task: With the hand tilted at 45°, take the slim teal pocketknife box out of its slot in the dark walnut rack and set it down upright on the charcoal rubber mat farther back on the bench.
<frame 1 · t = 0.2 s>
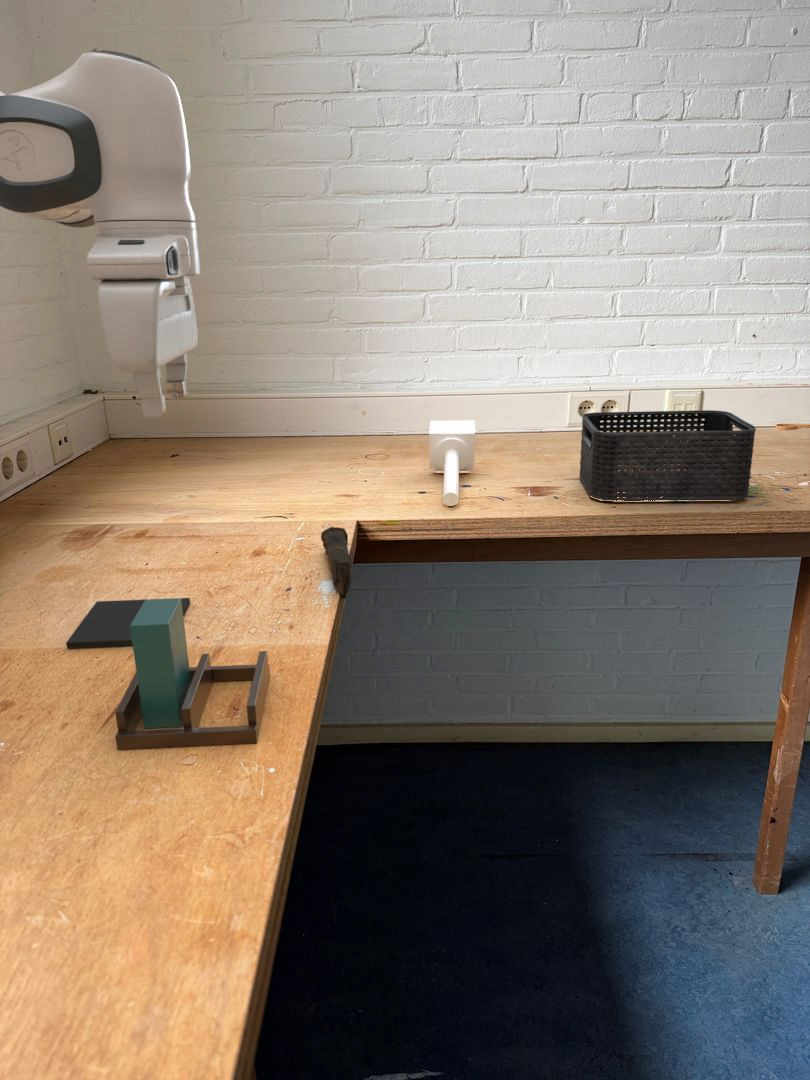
hand: (166, 406, 78), 29 cm above the table, tool pointing down, fingers open, 8 cm apart
slot rack: (199, 710, 80), on the table
hand tool: (343, 573, 115), on the table
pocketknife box: (169, 711, 80), resting in slot rack
storage bin: (658, 490, 153), on the table
rubber mat: (132, 624, 99), on the table
paper towel holder: (451, 485, 158), on the table
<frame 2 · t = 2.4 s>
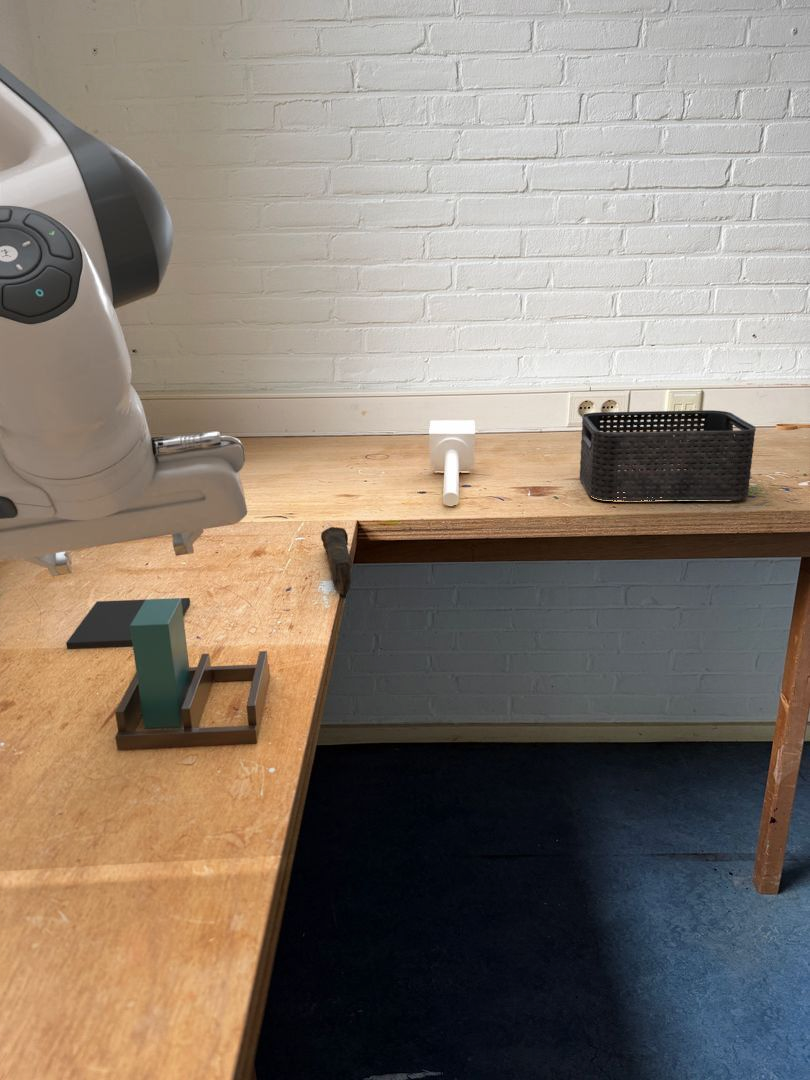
hand: (124, 557, 64), 20 cm above the table, tool tilted 40°, fingers open, 8 cm apart
nothing on the table moved.
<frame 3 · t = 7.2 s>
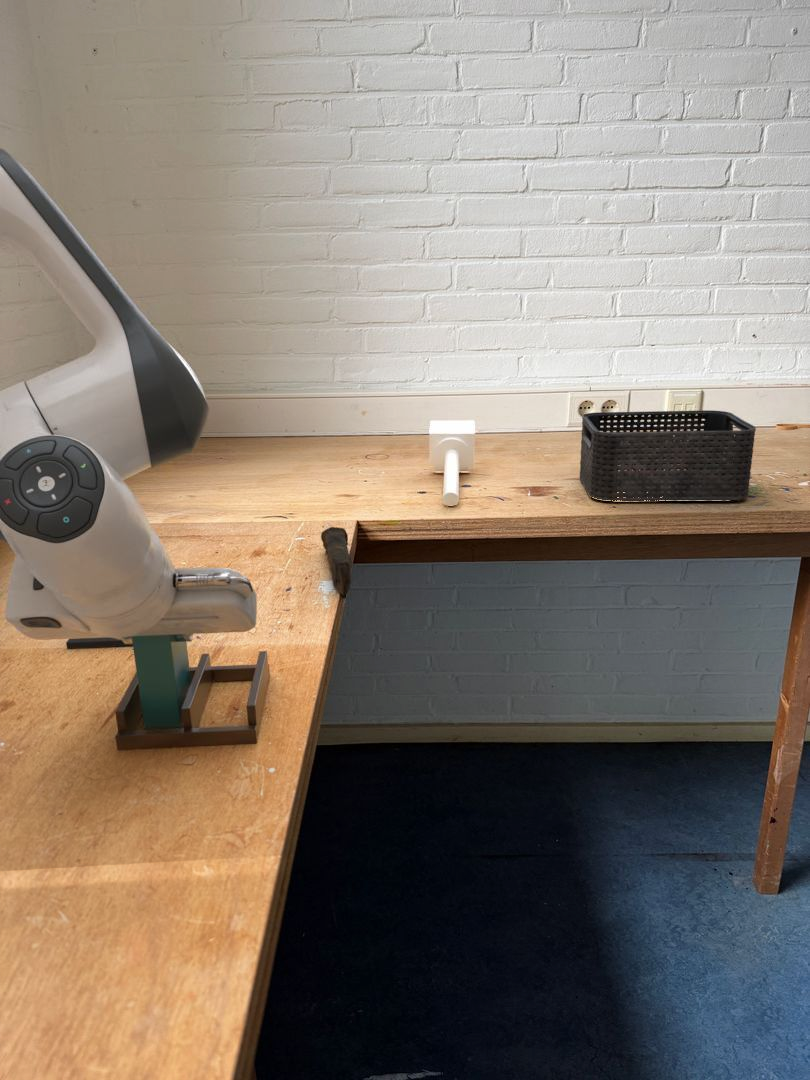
hand: (159, 635, 77), 8 cm above the table, tool tilted 45°, fingers closed on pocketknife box, 3 cm apart
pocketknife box: (169, 711, 80), resting in slot rack, touching gripper
everything else where it was.
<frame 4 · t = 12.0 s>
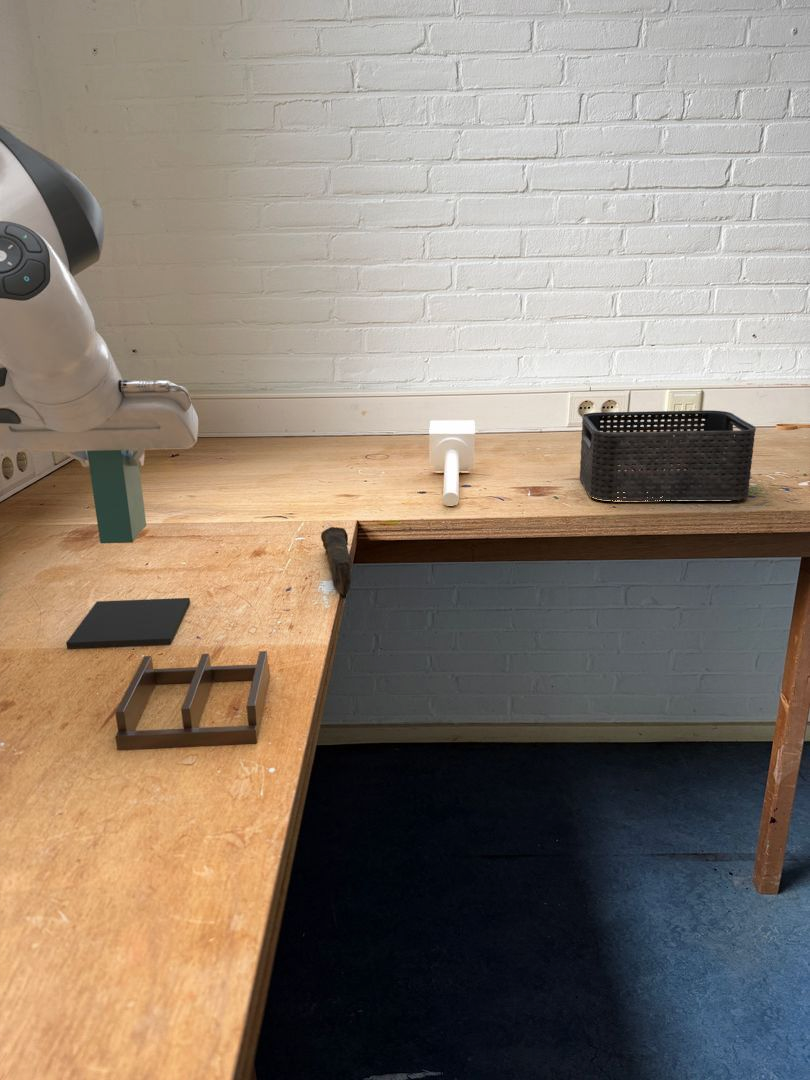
hand: (114, 461, 87), 22 cm above the table, tool tilted 45°, fingers closed on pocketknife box, 3 cm apart
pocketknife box: (124, 534, 89), point 14 cm above the table, touching gripper
everything else where it was.
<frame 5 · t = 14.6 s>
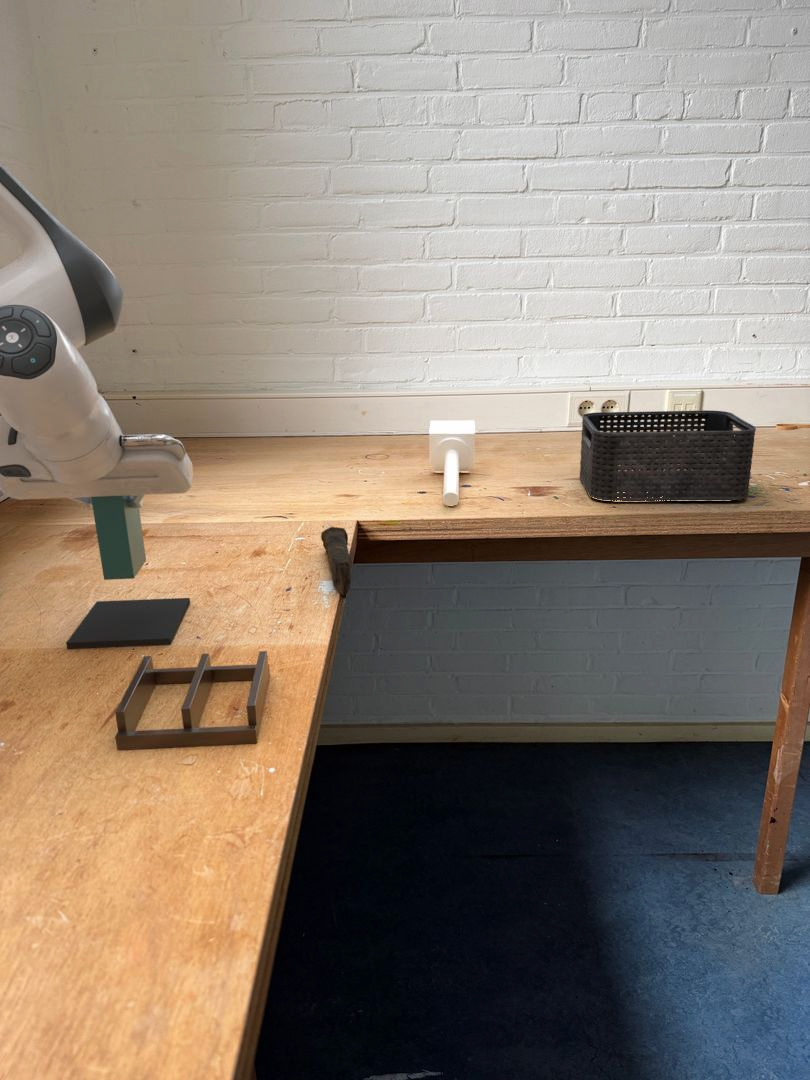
hand: (116, 503, 94), 16 cm above the table, tool tilted 45°, fingers closed on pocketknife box, 3 cm apart
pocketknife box: (125, 570, 97), point 7 cm above the table, touching gripper
everything else where it was.
when the fingers open (9 cm above the table, at t = 16.7 s): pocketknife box stays where it is, resting on rubber mat.
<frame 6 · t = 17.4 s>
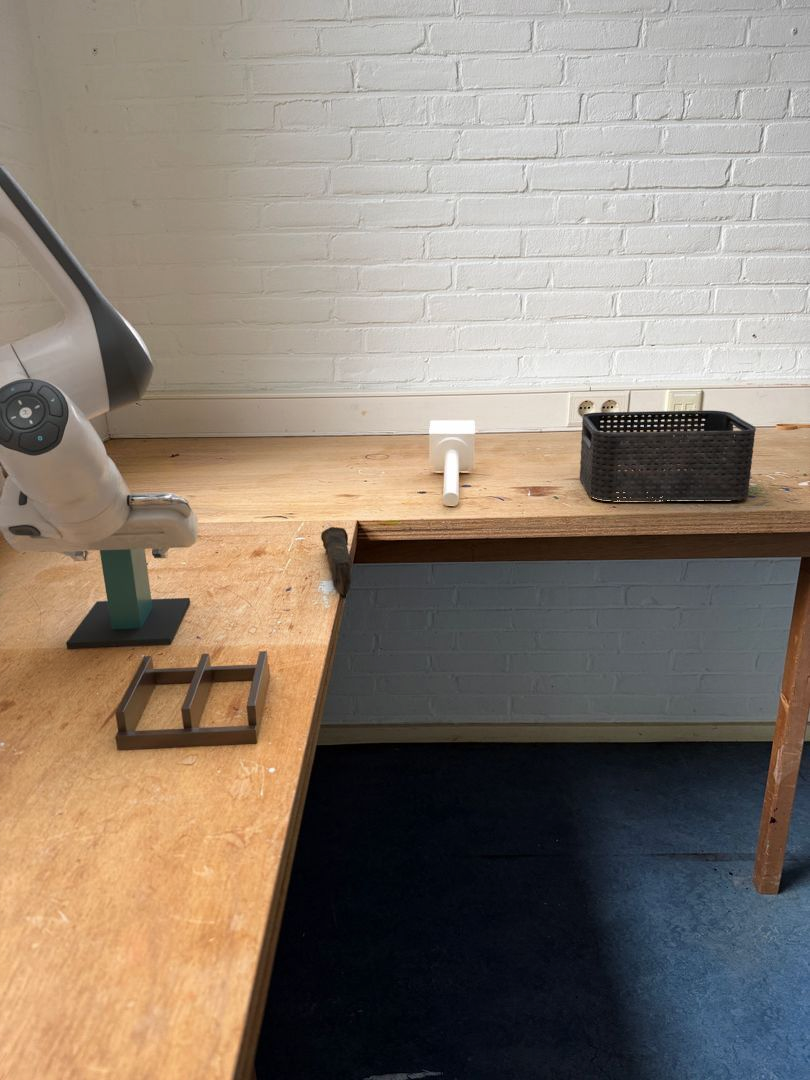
hand: (122, 554, 96), 9 cm above the table, tool tilted 45°, fingers open, 8 cm apart
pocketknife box: (132, 618, 99), point 1 cm above the table, touching rubber mat
everything else where it was.
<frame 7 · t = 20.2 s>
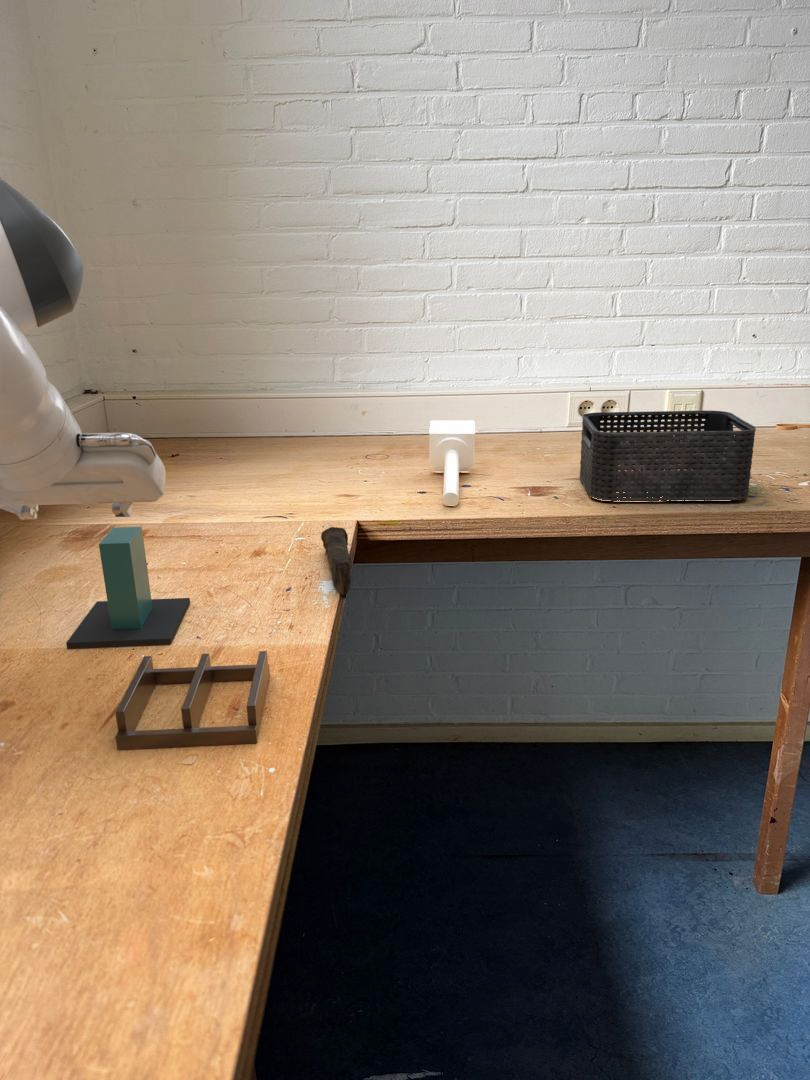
hand: (77, 512, 82), 18 cm above the table, tool tilted 45°, fingers open, 8 cm apart
nothing on the table moved.
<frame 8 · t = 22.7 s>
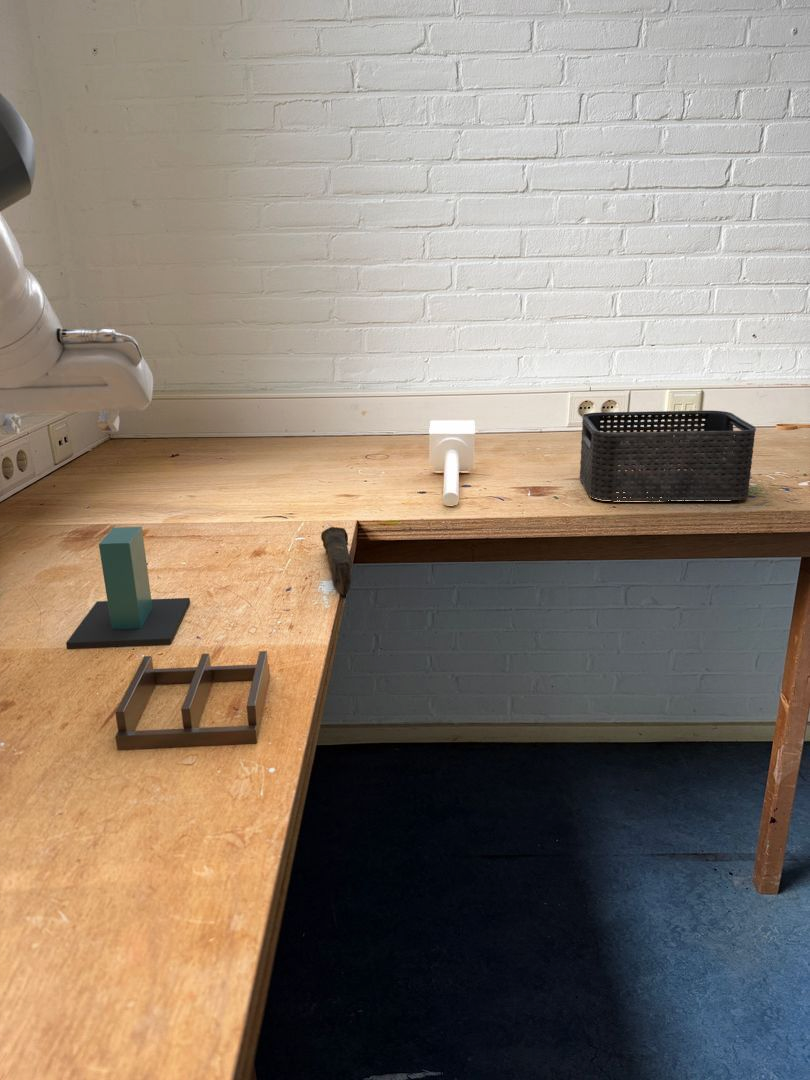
hand: (62, 427, 78), 27 cm above the table, tool tilted 45°, fingers open, 8 cm apart
nothing on the table moved.
at the end: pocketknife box inside the target area on the rubber mat (0.1 cm from its centre), point 0.8 cm above the rubber mat's base; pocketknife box tilted 0°; the gripper is holding nothing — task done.
